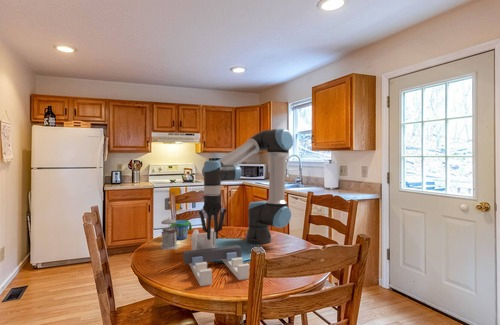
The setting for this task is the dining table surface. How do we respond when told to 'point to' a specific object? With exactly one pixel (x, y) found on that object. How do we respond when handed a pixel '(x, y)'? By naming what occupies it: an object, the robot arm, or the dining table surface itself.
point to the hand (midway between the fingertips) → (212, 246)
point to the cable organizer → (200, 240)
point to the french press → (169, 235)
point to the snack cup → (181, 228)
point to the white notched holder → (231, 262)
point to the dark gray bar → (211, 253)
